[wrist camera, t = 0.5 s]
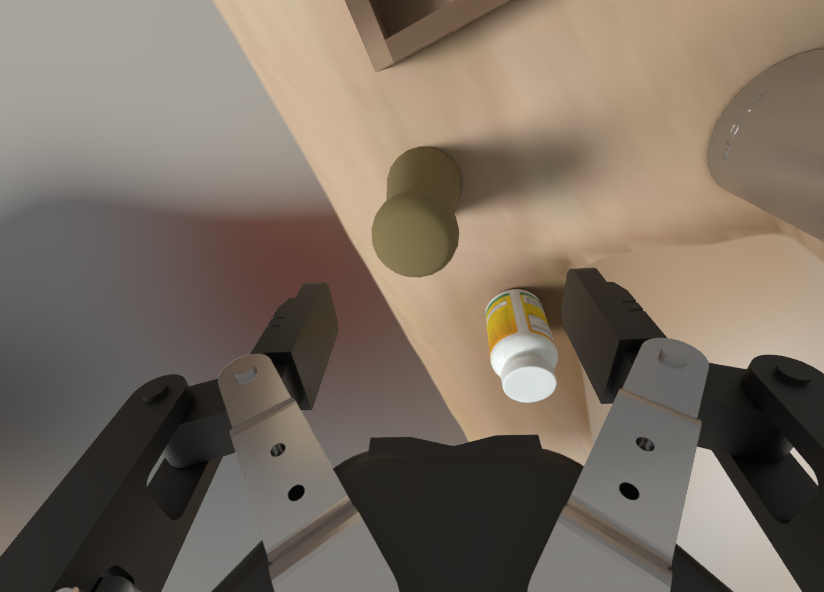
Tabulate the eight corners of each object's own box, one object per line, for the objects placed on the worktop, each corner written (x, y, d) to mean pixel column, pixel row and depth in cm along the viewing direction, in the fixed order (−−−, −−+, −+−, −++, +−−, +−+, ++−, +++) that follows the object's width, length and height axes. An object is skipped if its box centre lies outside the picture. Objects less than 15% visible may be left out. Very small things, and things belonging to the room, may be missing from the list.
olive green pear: (392, 139, 28) (364, 185, 19) (470, 154, 28) (480, 207, 19) (383, 213, 31) (355, 283, 22) (452, 227, 31) (453, 301, 22)
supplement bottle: (543, 285, 34) (571, 358, 26) (539, 329, 37) (564, 407, 29) (483, 289, 34) (493, 361, 27) (485, 332, 37) (494, 409, 29)
